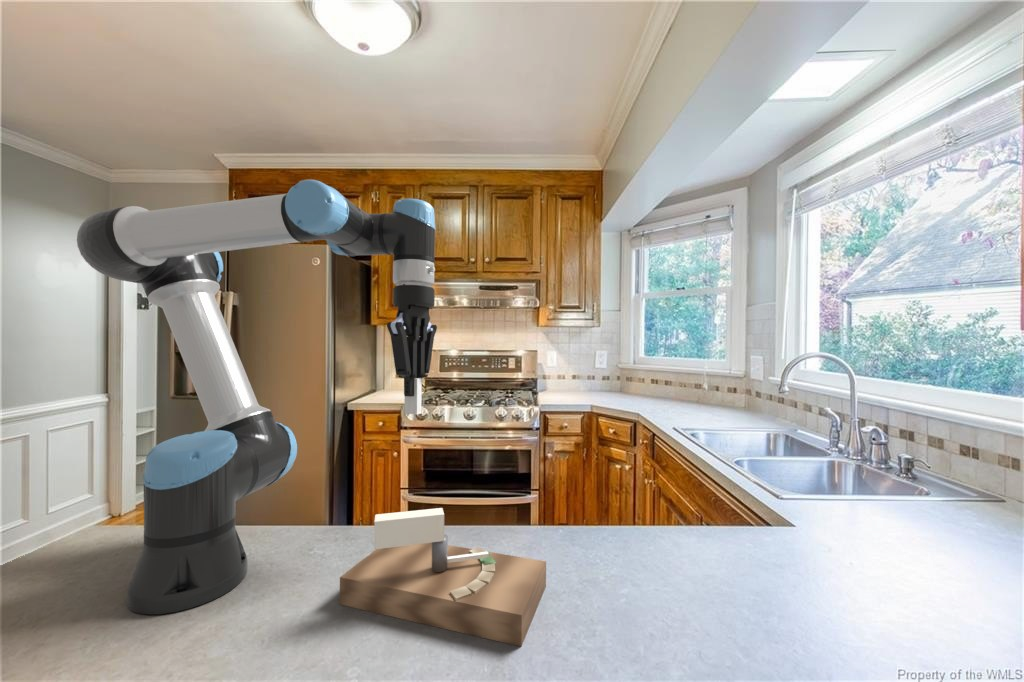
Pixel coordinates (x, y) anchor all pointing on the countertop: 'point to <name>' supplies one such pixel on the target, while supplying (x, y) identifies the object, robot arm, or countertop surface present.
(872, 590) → the countertop surface
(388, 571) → the board
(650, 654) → the countertop surface
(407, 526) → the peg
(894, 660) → the countertop surface
